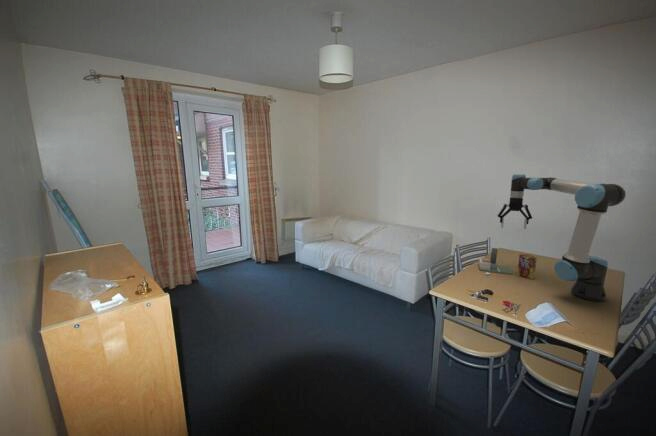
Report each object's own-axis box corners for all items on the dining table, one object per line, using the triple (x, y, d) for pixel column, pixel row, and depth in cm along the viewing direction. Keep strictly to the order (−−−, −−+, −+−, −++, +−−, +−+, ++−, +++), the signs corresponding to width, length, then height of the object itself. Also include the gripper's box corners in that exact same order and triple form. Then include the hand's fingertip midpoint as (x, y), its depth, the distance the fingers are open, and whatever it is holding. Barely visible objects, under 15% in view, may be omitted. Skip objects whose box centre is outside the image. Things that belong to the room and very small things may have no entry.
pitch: (512, 274, 198) (513, 267, 197) (480, 270, 205) (480, 263, 204) (508, 268, 210) (509, 261, 209) (477, 264, 217) (478, 257, 216)
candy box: (534, 278, 192) (537, 255, 190) (532, 279, 190) (535, 257, 187) (518, 274, 199) (521, 252, 196) (516, 275, 197) (519, 253, 194)
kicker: (497, 269, 204) (499, 250, 201) (489, 268, 206) (491, 249, 203) (495, 266, 210) (497, 247, 207) (487, 265, 211) (489, 247, 209)
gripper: (536, 197, 196) (532, 228, 200) (494, 196, 204) (491, 225, 208) (540, 198, 189) (536, 230, 193) (496, 197, 197) (493, 227, 201)
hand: (513, 228), depth 200 cm, fingers open, 13 cm apart
